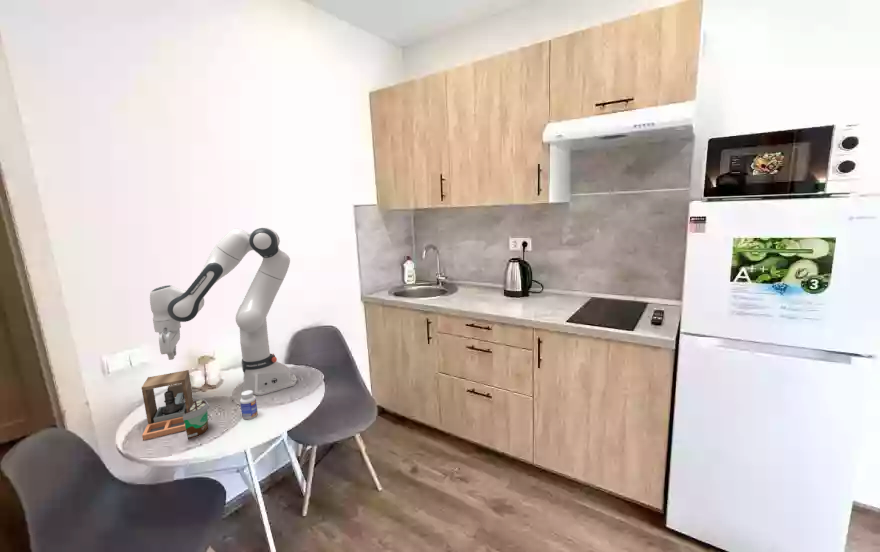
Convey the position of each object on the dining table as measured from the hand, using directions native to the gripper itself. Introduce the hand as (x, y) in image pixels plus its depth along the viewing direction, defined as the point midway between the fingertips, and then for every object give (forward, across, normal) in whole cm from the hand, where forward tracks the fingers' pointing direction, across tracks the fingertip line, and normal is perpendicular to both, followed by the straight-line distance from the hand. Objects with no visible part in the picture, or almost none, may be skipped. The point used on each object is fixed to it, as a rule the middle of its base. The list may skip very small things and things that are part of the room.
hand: (172, 357), depth 159 cm
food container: (+19, -32, -11) cm, 39 cm away
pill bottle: (+19, -30, -27) cm, 45 cm away
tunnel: (+19, -16, 0) cm, 25 cm away
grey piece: (+19, -8, 0) cm, 20 cm away
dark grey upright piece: (+19, -16, 0) cm, 25 cm away
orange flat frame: (+19, -26, 0) cm, 32 cm away
